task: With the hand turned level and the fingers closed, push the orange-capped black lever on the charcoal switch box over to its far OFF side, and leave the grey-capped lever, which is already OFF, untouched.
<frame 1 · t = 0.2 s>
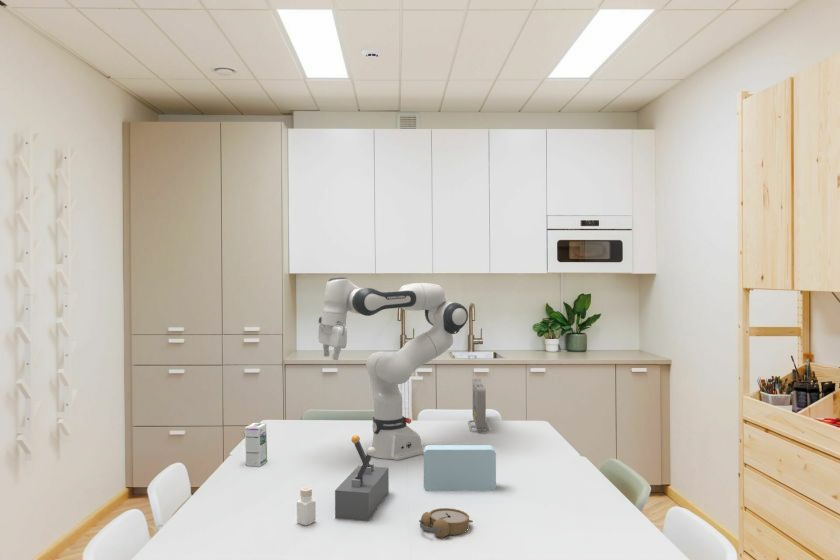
hand: (330, 358, 216), 39 cm above the table, tool pointing down, fingers open, 8 cm apart
grey lever: (365, 465, 171), point 14 cm above the table, hinge at 25.0°
alarm clock: (443, 530, 160), on the table
syrup box: (256, 464, 215), on the table
network device: (478, 427, 267), on the table
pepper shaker: (306, 523, 165), on the table
light blue rounded box: (459, 488, 191), on the table
orange lever: (361, 453, 183), point 14 cm above the table, hinge at -25.0°
switch box: (363, 504, 177), on the table
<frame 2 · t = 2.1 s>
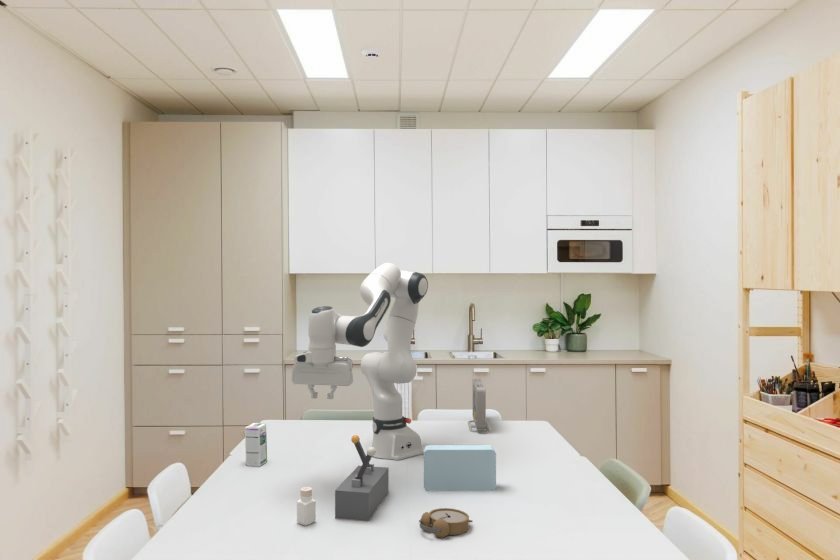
hand: (322, 398, 192), 29 cm above the table, tool pointing down, fingers open, 4 cm apart
nothing on the table moved.
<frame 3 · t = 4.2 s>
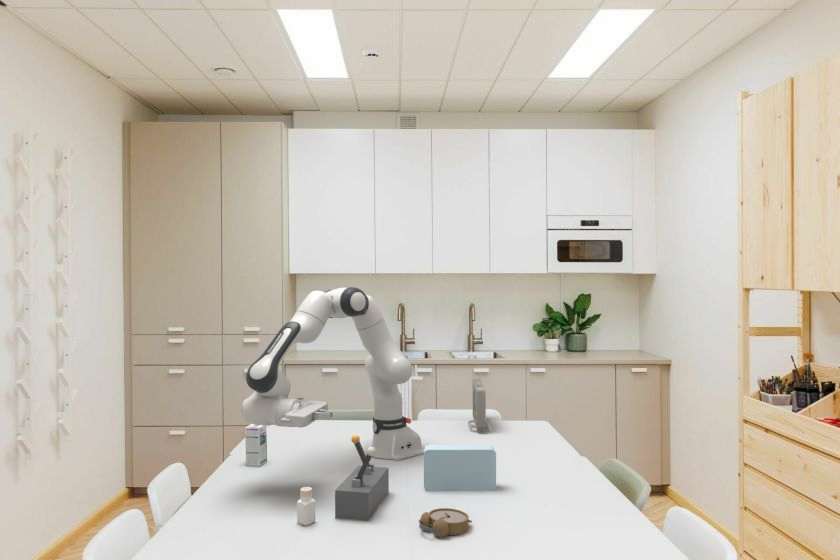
hand: (331, 415, 185), 25 cm above the table, tool horizontal, fingers closed
nothing on the table moved.
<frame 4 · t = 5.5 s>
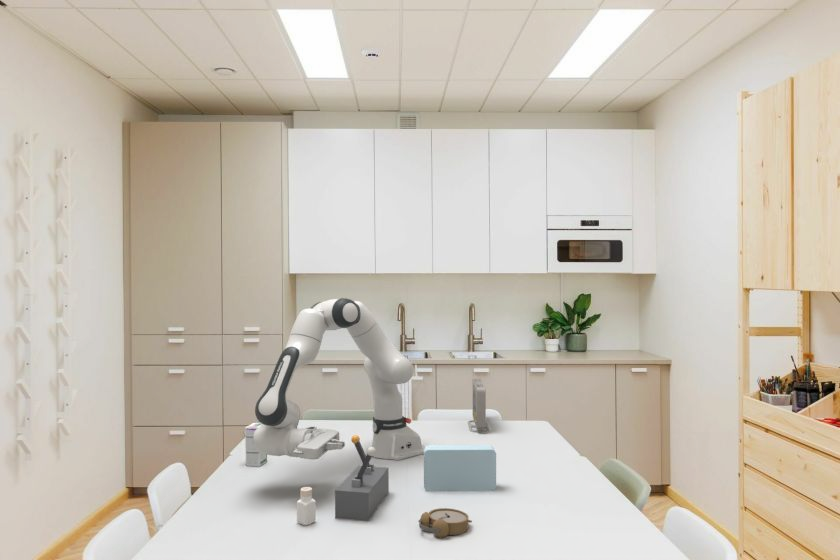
hand: (343, 445, 184), 16 cm above the table, tool horizontal, fingers closed
nothing on the table moved.
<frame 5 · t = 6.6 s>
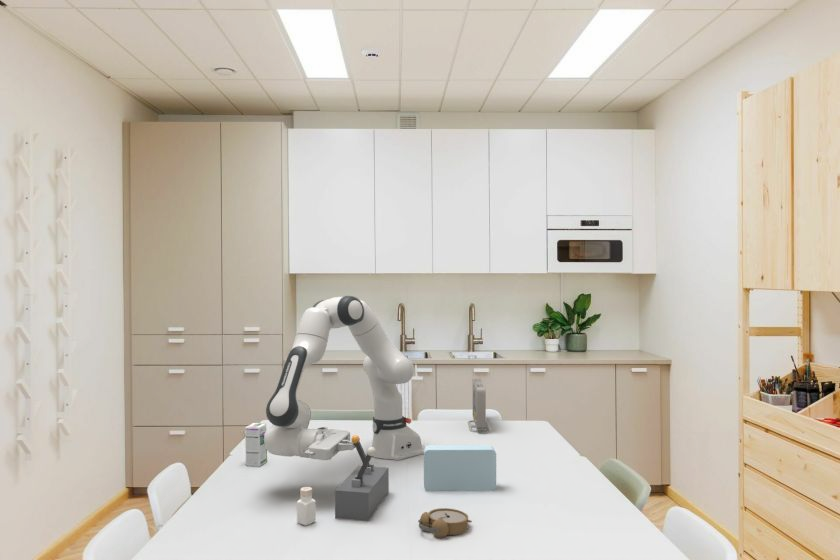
hand: (354, 446, 183), 16 cm above the table, tool horizontal, fingers closed, pressing on orange lever
orange lever: (361, 453, 183), point 14 cm above the table, hinge at -25.0°, touching gripper
everything else where it was.
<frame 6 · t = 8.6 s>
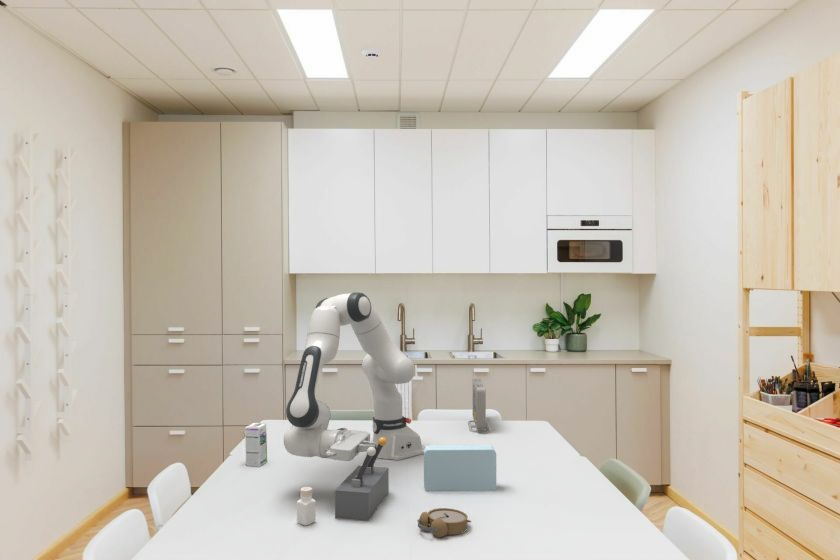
hand: (375, 447, 182), 16 cm above the table, tool horizontal, fingers closed, pressing on orange lever
orange lever: (376, 454, 182), point 14 cm above the table, hinge at 27.1°, touching gripper
everything else where it was.
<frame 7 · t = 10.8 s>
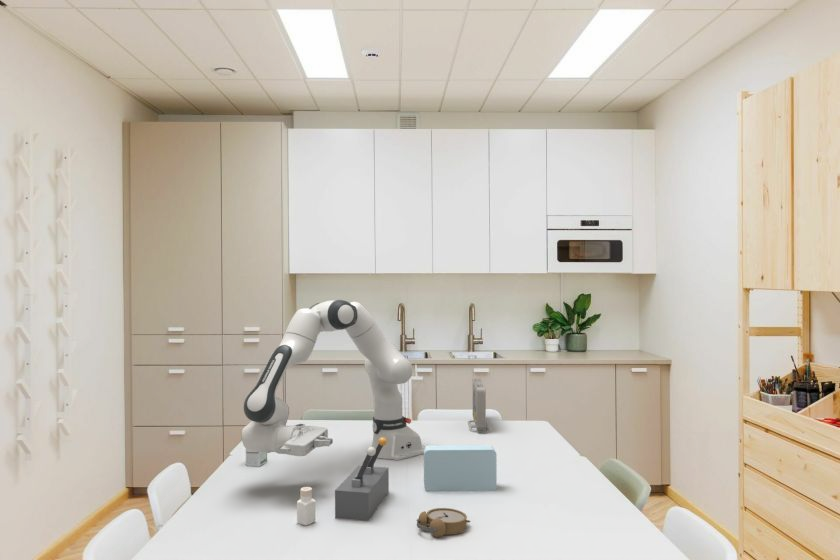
hand: (331, 442, 185), 17 cm above the table, tool horizontal, fingers closed
orange lever: (376, 454, 182), point 14 cm above the table, hinge at 27.4°
everything else where it was.
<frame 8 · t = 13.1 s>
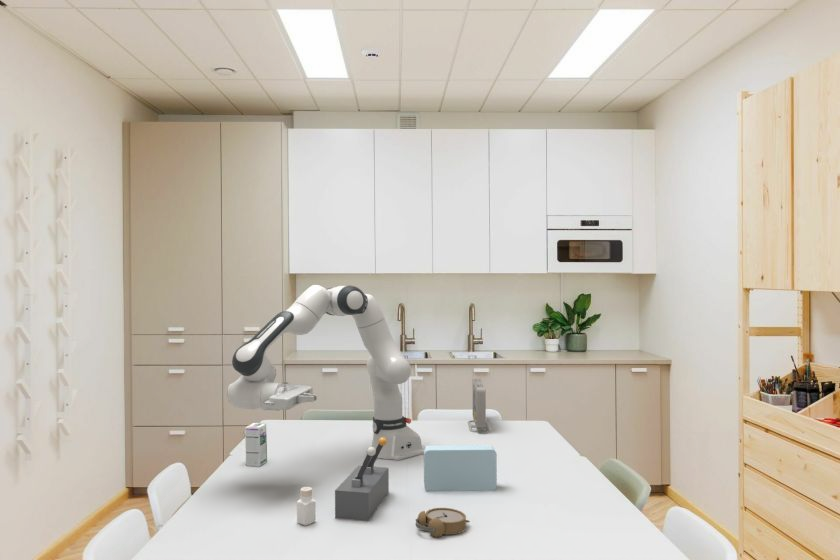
hand: (315, 398, 188), 30 cm above the table, tool horizontal, fingers closed
at the end: orange lever at +27° (first picture: -25°); grey lever at +25° (first picture: +25°) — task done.
